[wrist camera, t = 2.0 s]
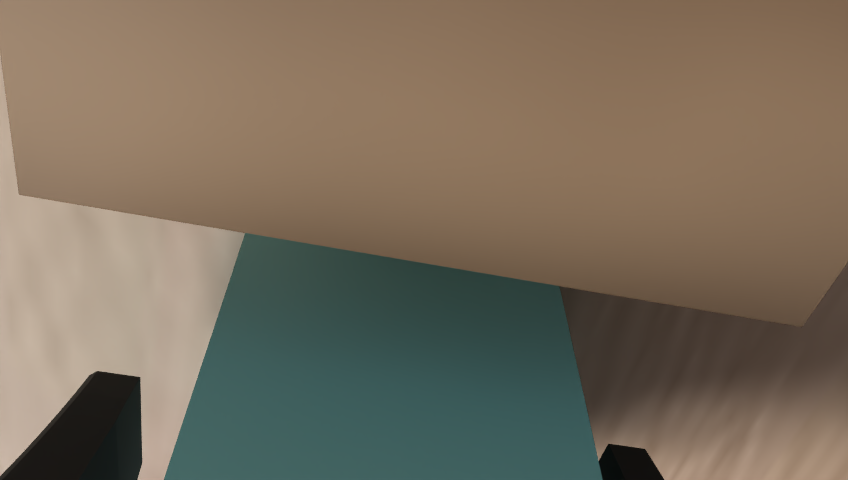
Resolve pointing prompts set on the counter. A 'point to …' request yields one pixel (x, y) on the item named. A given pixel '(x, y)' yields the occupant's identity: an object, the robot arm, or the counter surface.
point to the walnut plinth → (462, 133)
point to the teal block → (383, 374)
